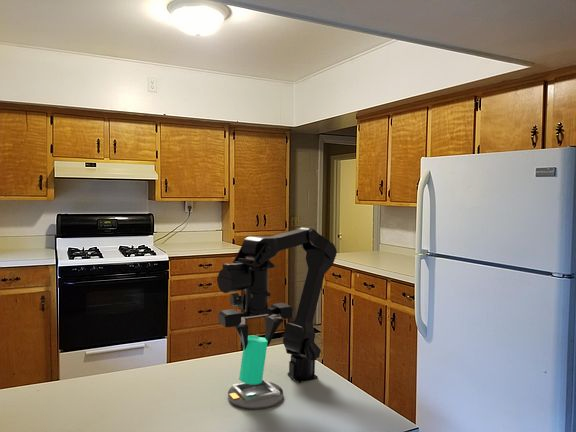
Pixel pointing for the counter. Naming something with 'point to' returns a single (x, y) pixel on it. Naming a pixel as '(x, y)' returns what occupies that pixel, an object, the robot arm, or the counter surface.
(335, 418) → the counter surface
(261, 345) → the candle
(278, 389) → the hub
